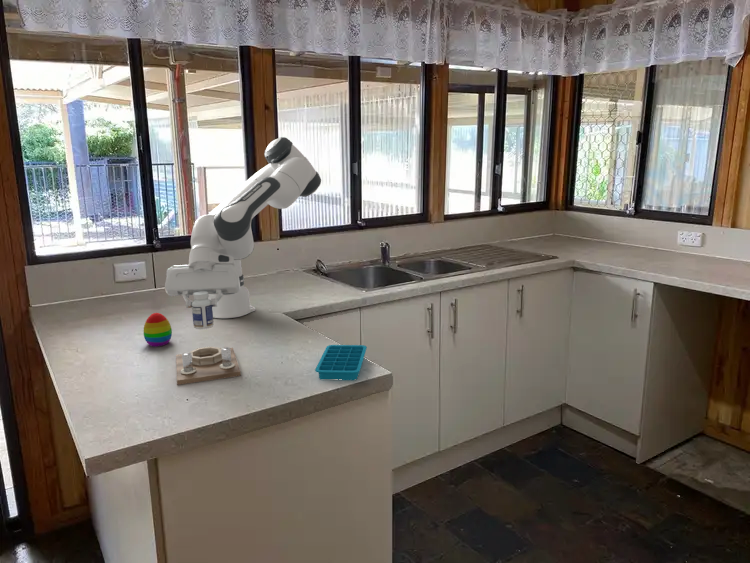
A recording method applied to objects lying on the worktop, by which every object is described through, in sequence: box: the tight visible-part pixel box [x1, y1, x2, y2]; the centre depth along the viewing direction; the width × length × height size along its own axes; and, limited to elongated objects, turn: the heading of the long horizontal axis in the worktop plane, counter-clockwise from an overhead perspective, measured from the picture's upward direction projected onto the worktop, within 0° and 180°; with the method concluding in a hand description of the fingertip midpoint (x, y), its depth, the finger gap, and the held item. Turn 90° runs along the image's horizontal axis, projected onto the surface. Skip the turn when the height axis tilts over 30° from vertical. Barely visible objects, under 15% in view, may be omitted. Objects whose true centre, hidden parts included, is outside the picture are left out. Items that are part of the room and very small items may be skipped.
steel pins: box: [180, 347, 235, 375], centre depth 149 cm, size 4×14×5 cm, turn 110°
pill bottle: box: [191, 291, 214, 330], centre depth 154 cm, size 5×5×10 cm
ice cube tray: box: [314, 344, 368, 381], centre depth 153 cm, size 12×20×3 cm, turn 175°
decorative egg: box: [143, 312, 173, 348], centre depth 173 cm, size 8×8×10 cm
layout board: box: [175, 346, 242, 386], centre depth 154 cm, size 20×16×3 cm
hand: (201, 306), depth 153 cm, fingers closed on pill bottle, 5 cm apart
